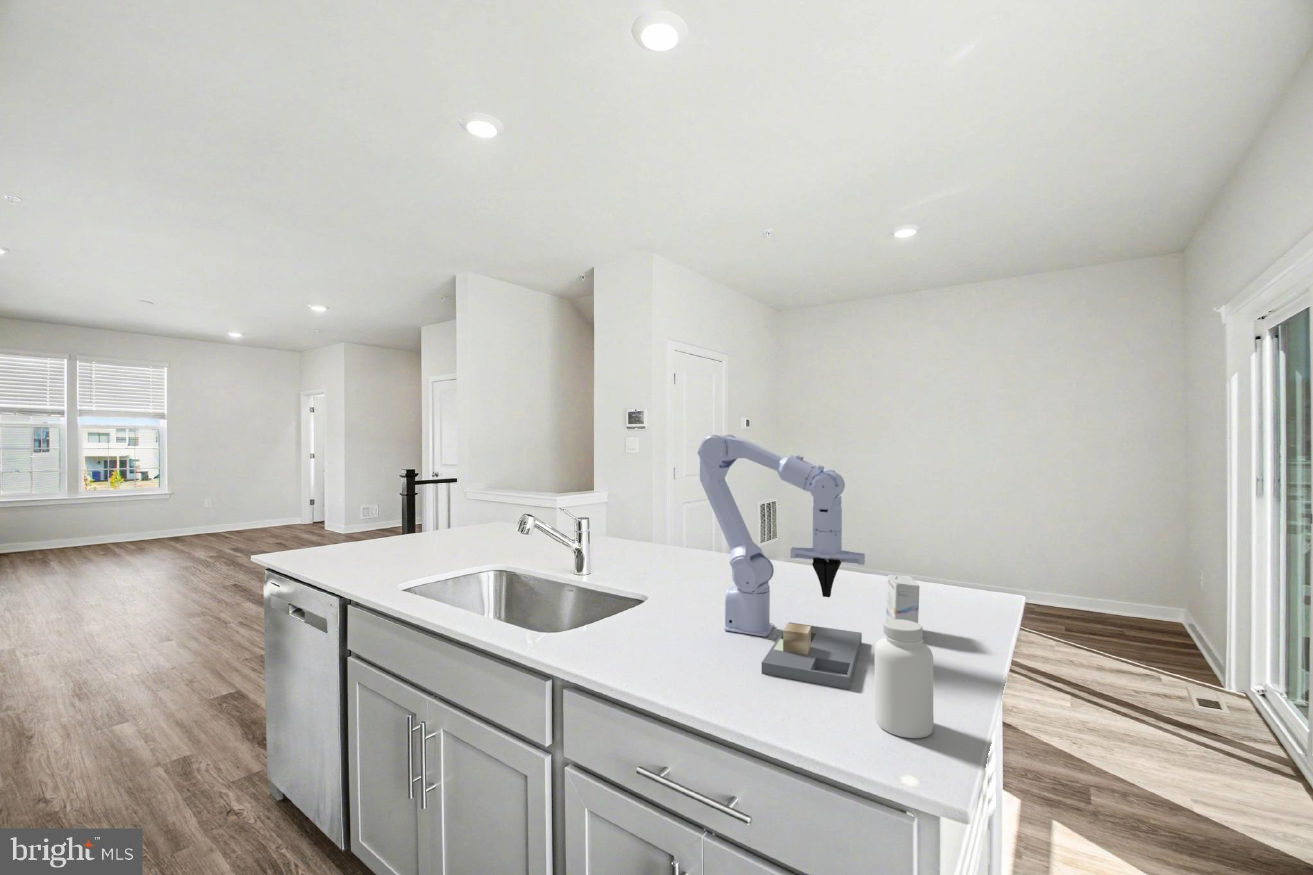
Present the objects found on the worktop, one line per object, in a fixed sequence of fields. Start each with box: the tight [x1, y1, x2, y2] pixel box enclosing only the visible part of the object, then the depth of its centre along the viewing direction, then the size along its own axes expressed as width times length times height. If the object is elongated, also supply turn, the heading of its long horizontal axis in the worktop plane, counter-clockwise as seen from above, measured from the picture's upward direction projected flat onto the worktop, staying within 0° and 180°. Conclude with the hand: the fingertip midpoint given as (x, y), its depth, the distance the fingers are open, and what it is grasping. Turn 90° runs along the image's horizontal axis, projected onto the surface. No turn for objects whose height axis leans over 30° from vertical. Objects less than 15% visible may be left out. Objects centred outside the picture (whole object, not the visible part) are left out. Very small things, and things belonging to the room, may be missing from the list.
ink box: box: [885, 573, 920, 624], centre depth 122 cm, size 9×5×12 cm, turn 168°
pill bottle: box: [874, 619, 934, 739], centre depth 83 cm, size 8×8×15 cm
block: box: [782, 622, 812, 655], centre depth 107 cm, size 4×4×4 cm
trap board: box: [761, 622, 863, 690], centre depth 109 cm, size 15×24×2 cm, turn 155°
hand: (826, 595), depth 115 cm, fingers closed
